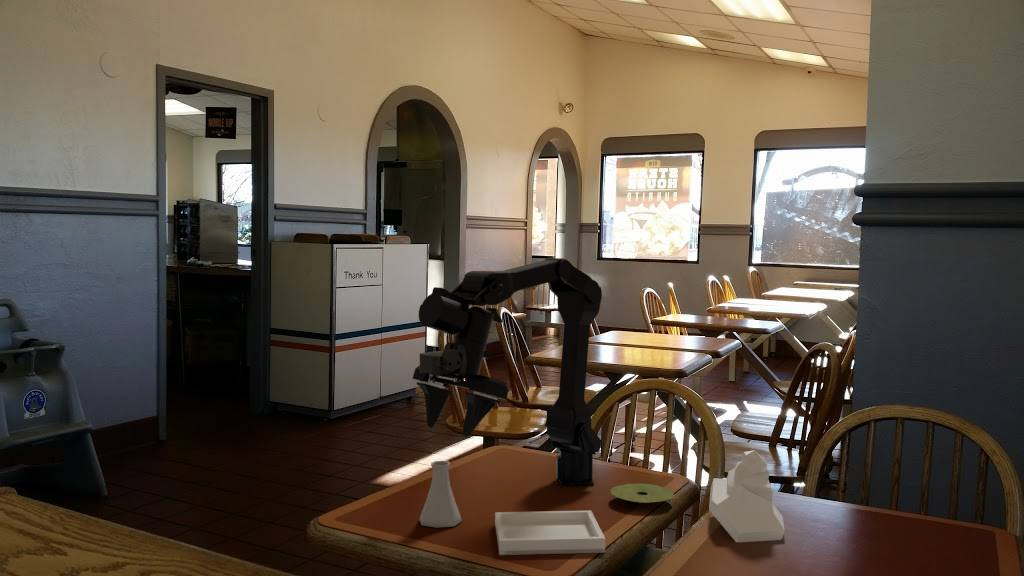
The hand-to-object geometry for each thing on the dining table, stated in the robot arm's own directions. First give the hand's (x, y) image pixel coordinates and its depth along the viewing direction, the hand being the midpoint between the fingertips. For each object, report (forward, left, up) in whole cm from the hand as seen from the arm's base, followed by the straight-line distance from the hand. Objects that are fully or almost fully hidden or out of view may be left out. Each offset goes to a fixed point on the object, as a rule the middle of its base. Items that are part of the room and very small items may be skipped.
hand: (447, 431), depth 140 cm
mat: (-35, -7, -15) cm, 39 cm away
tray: (-16, +10, -15) cm, 24 cm away
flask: (+1, +1, -15) cm, 15 cm away
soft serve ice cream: (-49, +7, -15) cm, 52 cm away
